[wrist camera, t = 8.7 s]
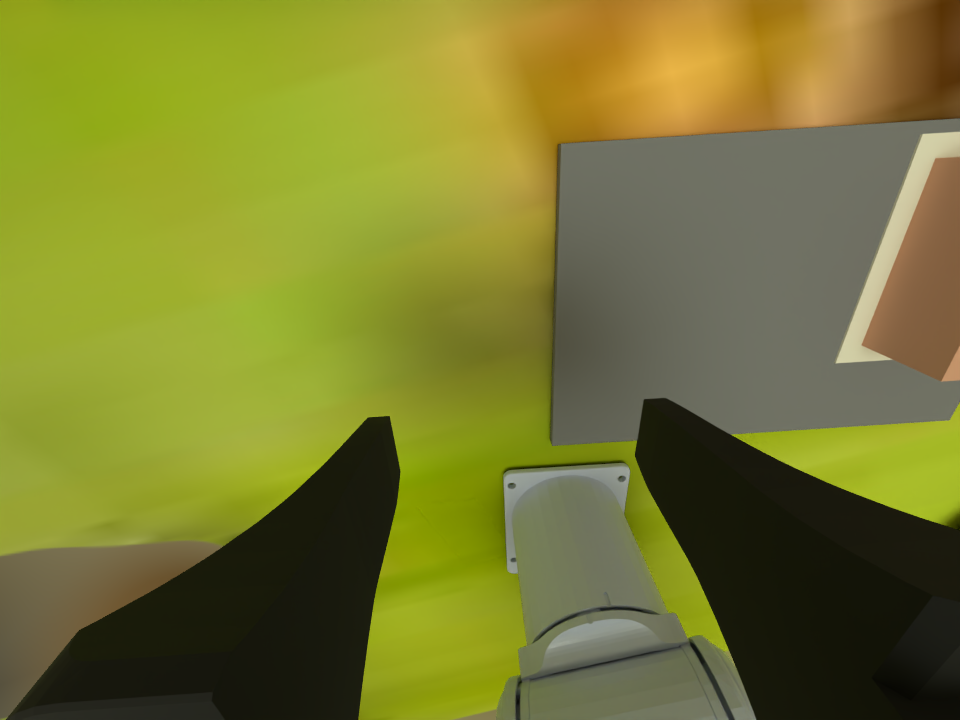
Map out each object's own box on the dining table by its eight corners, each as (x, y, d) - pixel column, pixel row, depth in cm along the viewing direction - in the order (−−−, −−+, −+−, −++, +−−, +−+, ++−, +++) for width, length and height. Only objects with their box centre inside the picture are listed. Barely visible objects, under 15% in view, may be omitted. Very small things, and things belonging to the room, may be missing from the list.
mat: (938, 414, 24) (951, 421, 24) (550, 439, 24) (552, 446, 24) (1104, 109, 17) (1128, 107, 17) (558, 144, 17) (561, 143, 17)
